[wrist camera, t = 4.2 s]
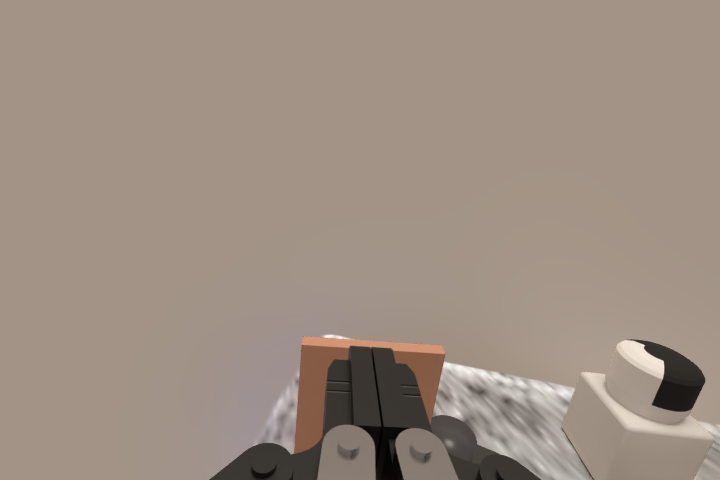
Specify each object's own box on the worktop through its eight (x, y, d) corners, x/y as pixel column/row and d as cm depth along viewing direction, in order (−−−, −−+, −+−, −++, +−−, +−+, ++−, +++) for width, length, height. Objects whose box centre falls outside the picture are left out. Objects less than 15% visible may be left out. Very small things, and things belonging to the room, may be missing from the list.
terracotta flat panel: (459, 444, 31) (486, 337, 28) (476, 488, 27) (509, 371, 24) (297, 436, 30) (305, 325, 27) (290, 482, 26) (299, 358, 23)
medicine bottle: (627, 434, 37) (670, 335, 34) (683, 503, 31) (745, 388, 27) (559, 426, 38) (595, 326, 34) (600, 493, 31) (650, 377, 27)
